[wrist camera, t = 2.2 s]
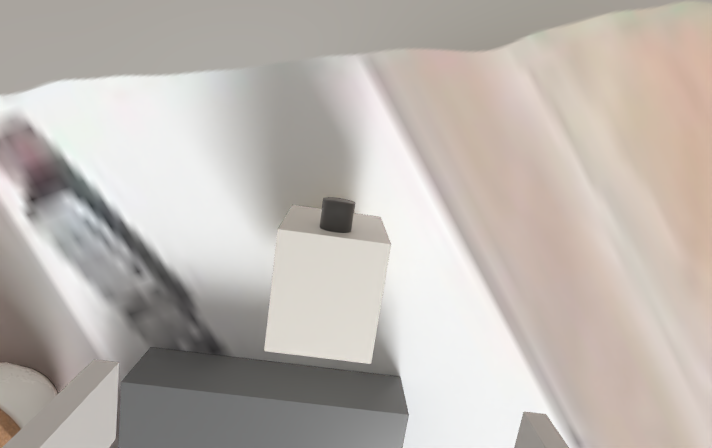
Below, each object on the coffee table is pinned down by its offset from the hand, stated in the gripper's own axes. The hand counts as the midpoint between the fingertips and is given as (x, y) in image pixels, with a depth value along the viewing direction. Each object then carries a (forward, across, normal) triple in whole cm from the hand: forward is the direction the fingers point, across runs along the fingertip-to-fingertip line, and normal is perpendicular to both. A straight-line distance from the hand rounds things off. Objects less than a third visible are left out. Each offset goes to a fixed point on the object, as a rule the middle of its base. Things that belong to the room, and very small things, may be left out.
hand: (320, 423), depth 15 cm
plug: (+21, 0, 0) cm, 21 cm away
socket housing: (+21, -3, -20) cm, 29 cm away
